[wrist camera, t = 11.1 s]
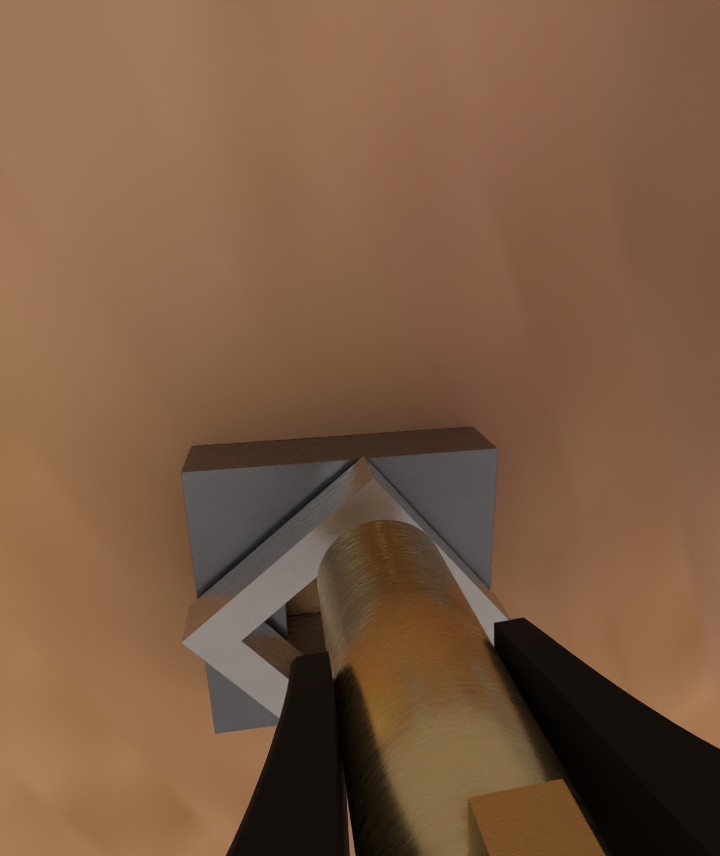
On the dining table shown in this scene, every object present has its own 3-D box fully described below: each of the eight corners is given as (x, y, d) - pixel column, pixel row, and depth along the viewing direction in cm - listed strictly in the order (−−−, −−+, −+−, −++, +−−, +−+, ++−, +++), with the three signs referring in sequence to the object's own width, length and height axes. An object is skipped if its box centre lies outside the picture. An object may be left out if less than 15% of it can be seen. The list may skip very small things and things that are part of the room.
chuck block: (472, 426, 21) (497, 448, 18) (464, 653, 24) (484, 696, 21) (191, 446, 19) (181, 472, 17) (220, 684, 22) (214, 733, 20)
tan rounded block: (440, 473, 14) (728, 844, 5) (445, 653, 15) (670, 1167, 7) (307, 490, 13) (375, 921, 5) (326, 673, 15) (403, 1244, 6)
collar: (633, 742, 23) (669, 790, 21) (495, 847, 24) (516, 904, 22) (362, 453, 18) (374, 480, 16) (190, 602, 18) (180, 647, 16)
